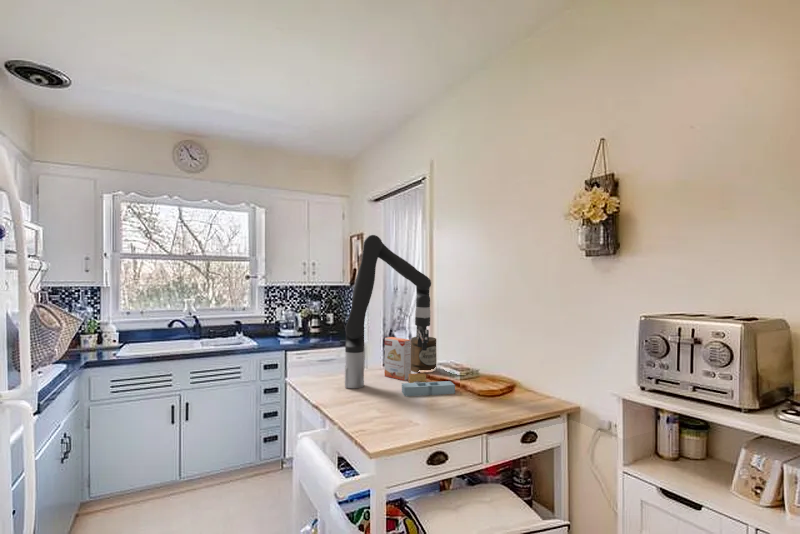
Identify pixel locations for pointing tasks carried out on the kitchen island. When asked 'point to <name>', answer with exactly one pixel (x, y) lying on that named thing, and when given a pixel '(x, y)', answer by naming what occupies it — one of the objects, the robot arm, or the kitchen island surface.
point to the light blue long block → (428, 388)
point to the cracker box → (397, 358)
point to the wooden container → (423, 355)
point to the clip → (417, 377)
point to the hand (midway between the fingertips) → (422, 348)
